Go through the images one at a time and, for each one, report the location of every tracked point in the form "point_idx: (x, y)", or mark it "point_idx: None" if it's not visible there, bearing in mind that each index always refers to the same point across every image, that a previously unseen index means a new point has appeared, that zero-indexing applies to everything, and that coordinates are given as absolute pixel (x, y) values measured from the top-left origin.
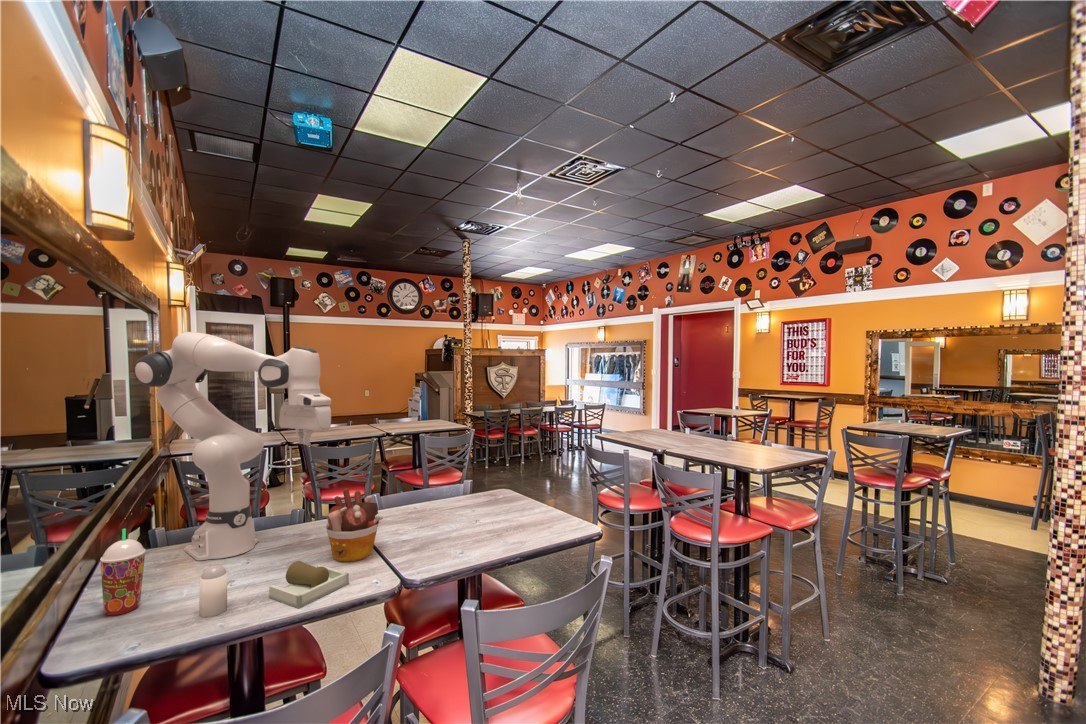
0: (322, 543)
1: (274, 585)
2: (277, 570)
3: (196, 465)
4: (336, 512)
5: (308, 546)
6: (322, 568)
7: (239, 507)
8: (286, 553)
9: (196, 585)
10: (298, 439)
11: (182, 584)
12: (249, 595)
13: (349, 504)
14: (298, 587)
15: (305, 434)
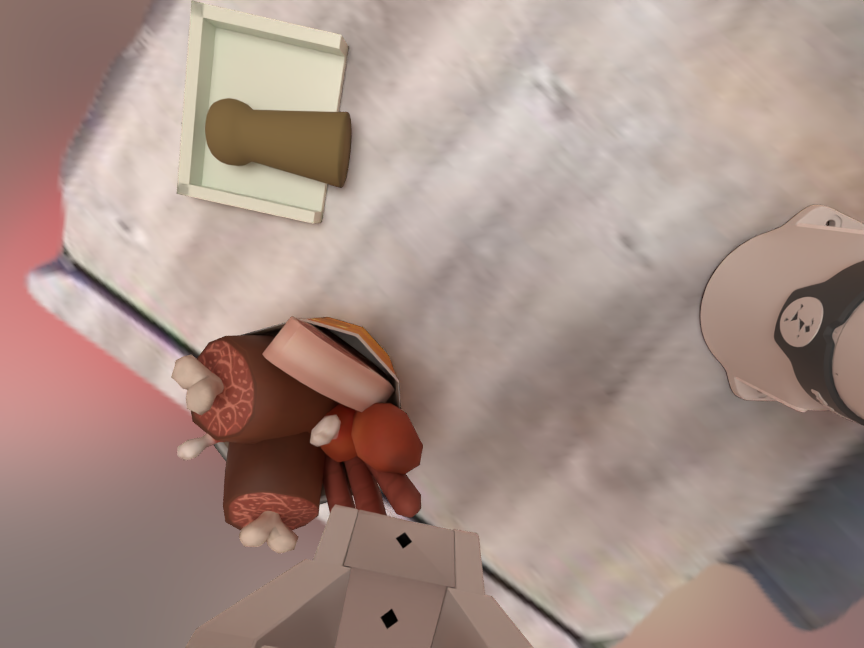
0: (502, 432)
1: (329, 45)
2: (481, 217)
3: None
4: (272, 347)
5: (529, 401)
6: (208, 130)
7: (848, 337)
8: (558, 335)
9: (650, 50)
10: (475, 570)
11: (704, 42)
12: (421, 43)
13: (359, 502)
14: None
15: (237, 612)
